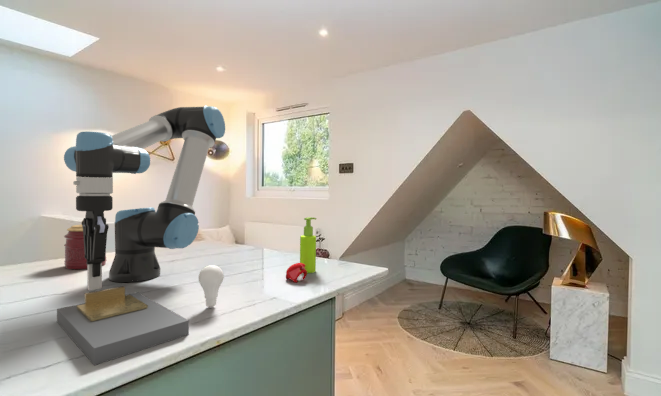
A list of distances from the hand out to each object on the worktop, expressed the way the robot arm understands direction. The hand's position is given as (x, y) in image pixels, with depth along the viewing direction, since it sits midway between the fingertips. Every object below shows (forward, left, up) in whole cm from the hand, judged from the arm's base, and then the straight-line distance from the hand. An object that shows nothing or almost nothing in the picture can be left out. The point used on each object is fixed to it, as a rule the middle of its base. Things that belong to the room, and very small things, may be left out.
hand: (94, 288), depth 86 cm
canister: (-54, +11, -5) cm, 55 cm away
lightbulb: (+20, +20, -5) cm, 29 cm away
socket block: (+18, 0, -5) cm, 18 cm away
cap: (+17, +53, -5) cm, 56 cm away
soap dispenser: (+11, +65, -5) cm, 66 cm away
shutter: (+12, 0, -2) cm, 12 cm away
